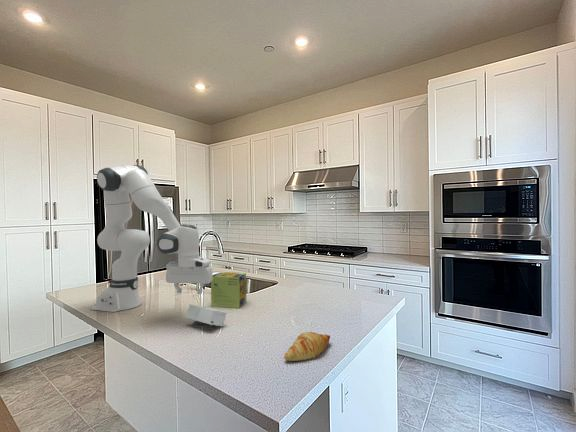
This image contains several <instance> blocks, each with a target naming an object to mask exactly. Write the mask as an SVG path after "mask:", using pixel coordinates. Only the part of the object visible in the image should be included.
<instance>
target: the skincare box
mask: <svg viewBox="0 0 576 432" xmlns="http://www.w3.org/2000/svg"><path fill="white" fill-rule="evenodd" d="M227 314H228V313H227V312H226V311H223V310H222V311H221V310H217V309H214V308H209V307H205V306H199V305H195V304H189V306H188V309H187V313H186V315H185V318H186V319H188V320H191V321H199V322H202V323H206V324H210V325H212V326H216V327H218V326H220V327H224V324H225V320H226V317H227Z"/></svg>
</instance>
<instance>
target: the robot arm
mask: <svg viewBox="0 0 576 432" xmlns="http://www.w3.org/2000/svg"><path fill="white" fill-rule="evenodd" d="M96 182H97V186H99V188H100V189H101V190H103V200H104V206H105V208H104V209H105V215H106V222H105V223H106V224H105V226H104V229H102V231H101V232H100V233H99V234H98V235H97V239H96V241H97V246H98V247H99V248H100V249H102V250H105V251H109V252H110V251H111V252H121V254H120V257H119V258H117V259H116V260H114V261H113V262H112V265H111V279H110V280H107V282H106V284H108V287H107V288H105V289H104V290H103V291H102V292H101V293H99V294H98V296H97V298H96V302H95V303H94V304H93V305H91V307H90V310H93V311H94V310H95V311H100V312H111V313H115V312H121V311H125V310H130V309H134V308H137V307H139V306H141V305H142V301H141V299H140V294H139V289H138V288H139V277H138V262H139V258H140V256H141V254H142V253H143V251H145V250H146V249H147V248H148V247H149V246H150V244H151V243H150V242H151V238H150V234H149V233H148V232H147V231H146V230H140V229H137V228H136V229H134V228H133V229H132V228H131V229H129V228H127V229H126V228H125V225H126V223H127V222H129V221H130V220H131V219H132V218H133V210H132V209H133V208H132V204H131V200H132V201H133V203H134V205H135V206H136V207H137V208H138V209H139V210H140V211H143V212H144V213H145V212H146V213H148V214H151V215H153V216H156V217H158V218H159V219H160V220H161V222H162V223H163V224H164V226H165V228H166V229H167V230H168V231H166V232H164V233H161V234H159V236H158V237H157V239H156V247H157V250H158V251H159V252H160V253H161V254H164V255H172V254H177V257H178V258H177V261H169V262H167V263H166V265H165V266H166V267H165V268H166V273H165V282H166V283H168V284H173V286H174V288H175V290H176V293H177V294H182V291H183V290H182V288H181V287H180V286H179V285H180V284H198V285H199V286H200V287H199V288H198V289H197V290H196V291H197V292H196V293H197V294H198V295H199V294H202V293H203V289H204V286H205V285H206V284H207V285H208V284H211V281H212V280H213V275H214V274H213V270H212V267H211V266H210V265H211V260H210V259H208V258H206V257H202V256H200V251H199V246H200V234H199V229H198V227H197V226H195V225H192V224H187V223H186V224H185V223H184V224H182V223H181V222H180V220H179V218H178V217H177V216H176V215H175V212H174V211H173V210H172V209H171V207H170V205H168V203H167V202H166V201H165V200H164V198H163V197H162V195H161V194H160V192H159V190H158V189H157V187H156V185H155V183H154V182H153V180H152V179H151V177H150V176H149V173H148V171H147V169H146V168H145V167H144V166H142V165H139V164H134V165H130V164H129V165H127V164H126V165H118V166H112V167H104V168H101V169H100V170H98V172H97V173H96Z"/></svg>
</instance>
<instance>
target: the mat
mask: <svg viewBox="0 0 576 432" xmlns="http://www.w3.org/2000/svg"><path fill="white" fill-rule="evenodd" d="M189 327H190V328H211V327H213V325H210V324H206V323H202V322H199V321H195V320H193V322H192V323H191V324H190V325H189Z"/></svg>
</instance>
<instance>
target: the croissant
mask: <svg viewBox="0 0 576 432" xmlns="http://www.w3.org/2000/svg"><path fill="white" fill-rule="evenodd" d="M330 338H331V335H330V334H321V333H317V332H313V331H305V332H302V333H299V335H297V338H296V339H295V340H294V341H293V344H292V346H290V347H289V348H288V349H287V352H285V353H284V355H283V358H284V360H285V361H288V362H293V361H294V362H298V361H299V362H300V361H306V360H311V359H310V358H312V359H315V358H316V357H318V356H319V355H320V353H321V352H322V353H324V350H325V349H326V347H327V346H328V345H329V343H330ZM322 353H321V354H322ZM318 354H319V355H318ZM317 355H318V356H317Z"/></svg>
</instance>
